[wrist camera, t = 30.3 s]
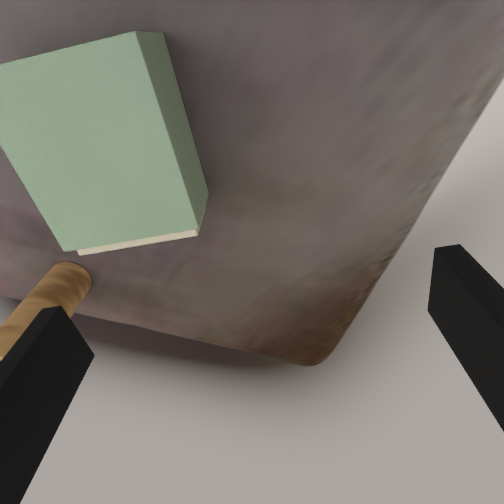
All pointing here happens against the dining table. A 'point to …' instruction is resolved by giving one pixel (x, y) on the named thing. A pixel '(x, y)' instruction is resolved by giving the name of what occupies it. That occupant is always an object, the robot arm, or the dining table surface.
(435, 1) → the dining table surface
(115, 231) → the cabinet
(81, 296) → the pepper mill
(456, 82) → the dining table surface
